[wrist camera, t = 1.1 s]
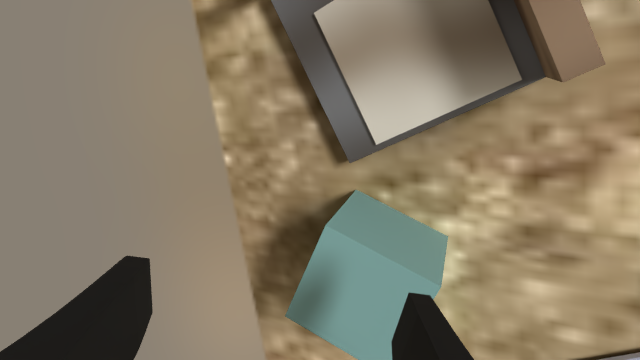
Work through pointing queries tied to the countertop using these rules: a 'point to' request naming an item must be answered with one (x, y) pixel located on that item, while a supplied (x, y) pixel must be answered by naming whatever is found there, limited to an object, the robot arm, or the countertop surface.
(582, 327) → the countertop surface
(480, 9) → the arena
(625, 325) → the countertop surface
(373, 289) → the teal block
